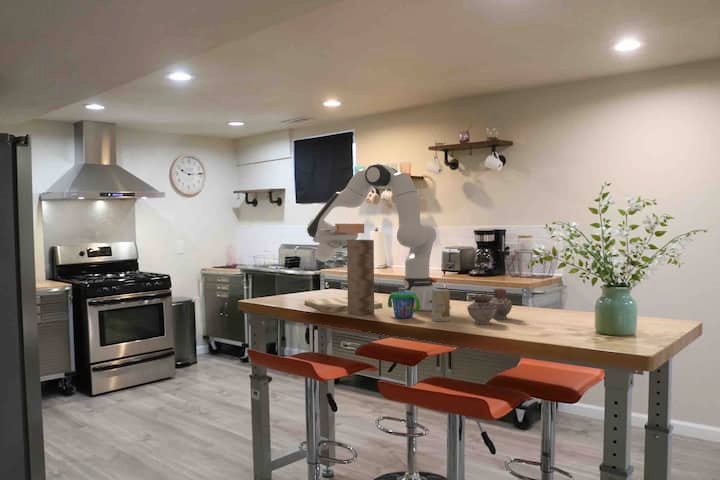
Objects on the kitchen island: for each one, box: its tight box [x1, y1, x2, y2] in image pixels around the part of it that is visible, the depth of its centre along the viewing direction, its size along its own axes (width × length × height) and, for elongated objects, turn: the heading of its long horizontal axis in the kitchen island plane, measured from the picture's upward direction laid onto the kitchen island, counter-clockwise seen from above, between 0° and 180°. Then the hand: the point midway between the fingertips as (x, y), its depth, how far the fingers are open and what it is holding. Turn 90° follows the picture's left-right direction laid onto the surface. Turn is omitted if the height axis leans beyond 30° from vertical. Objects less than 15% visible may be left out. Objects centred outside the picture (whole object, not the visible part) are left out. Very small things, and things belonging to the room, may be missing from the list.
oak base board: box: [304, 296, 383, 313], centre depth 266 cm, size 28×28×2 cm
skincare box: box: [431, 289, 451, 322], centre depth 223 cm, size 6×4×12 cm
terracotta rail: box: [334, 223, 365, 234], centre depth 247 cm, size 4×22×4 cm, turn 26°
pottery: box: [466, 288, 514, 325], centre depth 222 cm, size 11×25×12 cm, turn 139°
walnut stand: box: [346, 239, 375, 316], centre depth 243 cm, size 8×10×32 cm
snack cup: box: [387, 291, 420, 319], centre depth 232 cm, size 16×10×10 cm
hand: (342, 227), depth 254 cm, fingers closed on terracotta rail, 4 cm apart
